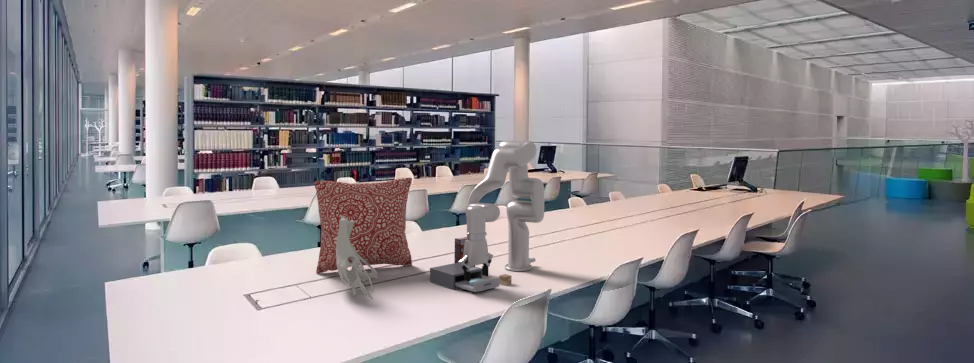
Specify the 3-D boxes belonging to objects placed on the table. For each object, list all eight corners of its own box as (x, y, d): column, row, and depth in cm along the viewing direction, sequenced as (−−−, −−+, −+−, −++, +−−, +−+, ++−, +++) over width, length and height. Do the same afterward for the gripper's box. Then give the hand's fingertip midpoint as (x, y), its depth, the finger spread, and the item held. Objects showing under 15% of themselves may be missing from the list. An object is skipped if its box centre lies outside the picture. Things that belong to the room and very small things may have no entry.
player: (459, 275, 256) (459, 261, 256) (483, 282, 244) (483, 268, 244) (430, 282, 245) (429, 267, 245) (453, 289, 234) (453, 274, 233)
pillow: (318, 278, 251) (315, 181, 247) (314, 269, 266) (312, 178, 262) (416, 269, 267) (416, 178, 263) (408, 262, 282) (407, 176, 278)
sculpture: (385, 301, 218) (384, 222, 215) (337, 304, 214) (335, 224, 211) (378, 279, 249) (377, 210, 246) (336, 282, 245) (335, 211, 242)
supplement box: (459, 275, 257) (459, 240, 255) (454, 273, 260) (453, 238, 259) (476, 272, 262) (476, 237, 260) (469, 270, 265) (469, 236, 264)
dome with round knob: (476, 281, 240) (476, 277, 240) (486, 284, 236) (486, 280, 235) (465, 284, 236) (465, 280, 236) (475, 287, 232) (475, 283, 231)
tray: (475, 279, 246) (475, 270, 246) (499, 286, 235) (499, 277, 235) (451, 284, 237) (451, 276, 237) (475, 292, 226) (475, 283, 226)
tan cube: (505, 282, 246) (505, 273, 245) (511, 283, 243) (511, 275, 243) (499, 283, 243) (499, 275, 243) (505, 285, 241) (505, 277, 240)
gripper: (485, 232, 243) (486, 272, 244) (453, 238, 231) (454, 280, 233) (498, 235, 237) (498, 276, 239) (465, 241, 225) (466, 284, 227)
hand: (476, 278), depth 236 cm, fingers open, 9 cm apart
